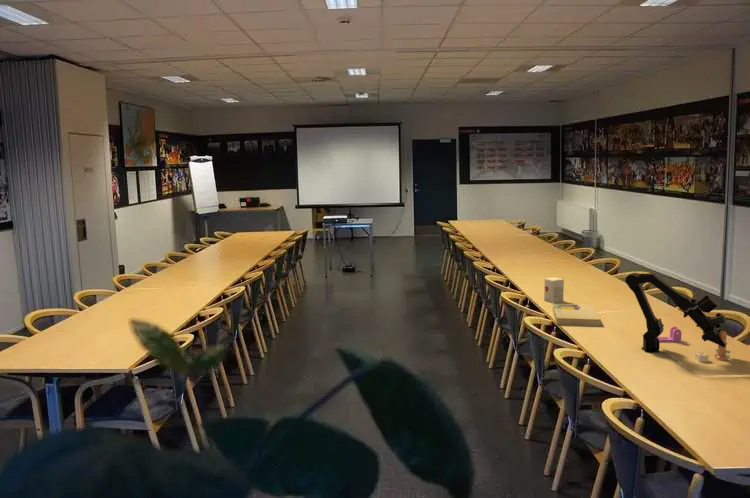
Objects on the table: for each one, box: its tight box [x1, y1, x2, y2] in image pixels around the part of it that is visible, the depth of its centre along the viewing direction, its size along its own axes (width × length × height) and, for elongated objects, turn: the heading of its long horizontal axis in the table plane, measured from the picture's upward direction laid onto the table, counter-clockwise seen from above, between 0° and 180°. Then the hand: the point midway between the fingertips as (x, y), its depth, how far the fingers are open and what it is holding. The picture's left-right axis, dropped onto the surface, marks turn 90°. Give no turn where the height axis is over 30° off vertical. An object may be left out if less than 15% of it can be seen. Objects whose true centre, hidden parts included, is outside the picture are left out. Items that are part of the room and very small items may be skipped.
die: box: [694, 352, 709, 363], centre depth 294 cm, size 4×4×4 cm
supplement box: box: [543, 276, 565, 304], centre depth 419 cm, size 9×9×15 cm
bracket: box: [657, 326, 682, 343], centre depth 328 cm, size 13×6×7 cm, turn 83°
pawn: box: [716, 330, 728, 362], centre depth 294 cm, size 5×5×13 cm
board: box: [714, 348, 731, 362], centre depth 300 cm, size 20×6×1 cm, turn 150°
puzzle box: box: [552, 303, 601, 327], centre depth 377 cm, size 36×5×24 cm
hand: (725, 345), depth 293 cm, fingers closed on pawn, 3 cm apart
